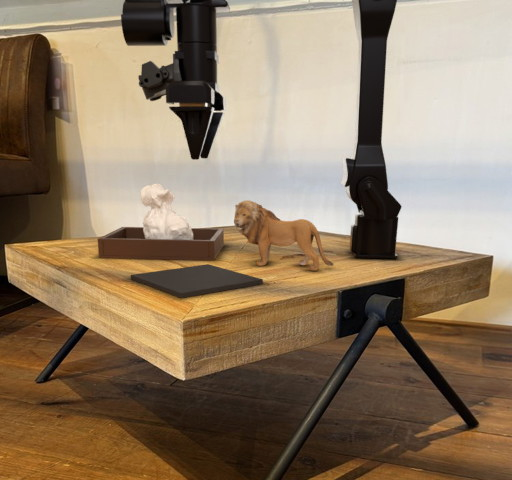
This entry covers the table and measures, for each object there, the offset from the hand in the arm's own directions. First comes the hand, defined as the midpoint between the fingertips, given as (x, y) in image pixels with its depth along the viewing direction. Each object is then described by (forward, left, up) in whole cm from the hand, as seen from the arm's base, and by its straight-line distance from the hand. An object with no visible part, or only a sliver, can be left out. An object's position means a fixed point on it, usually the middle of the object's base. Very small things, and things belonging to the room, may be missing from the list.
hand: (200, 158), depth 88 cm
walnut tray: (+6, 0, -14) cm, 16 cm away
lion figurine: (-13, +10, -15) cm, 22 cm away
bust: (+6, 0, -14) cm, 15 cm away
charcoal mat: (-2, +21, -14) cm, 26 cm away
